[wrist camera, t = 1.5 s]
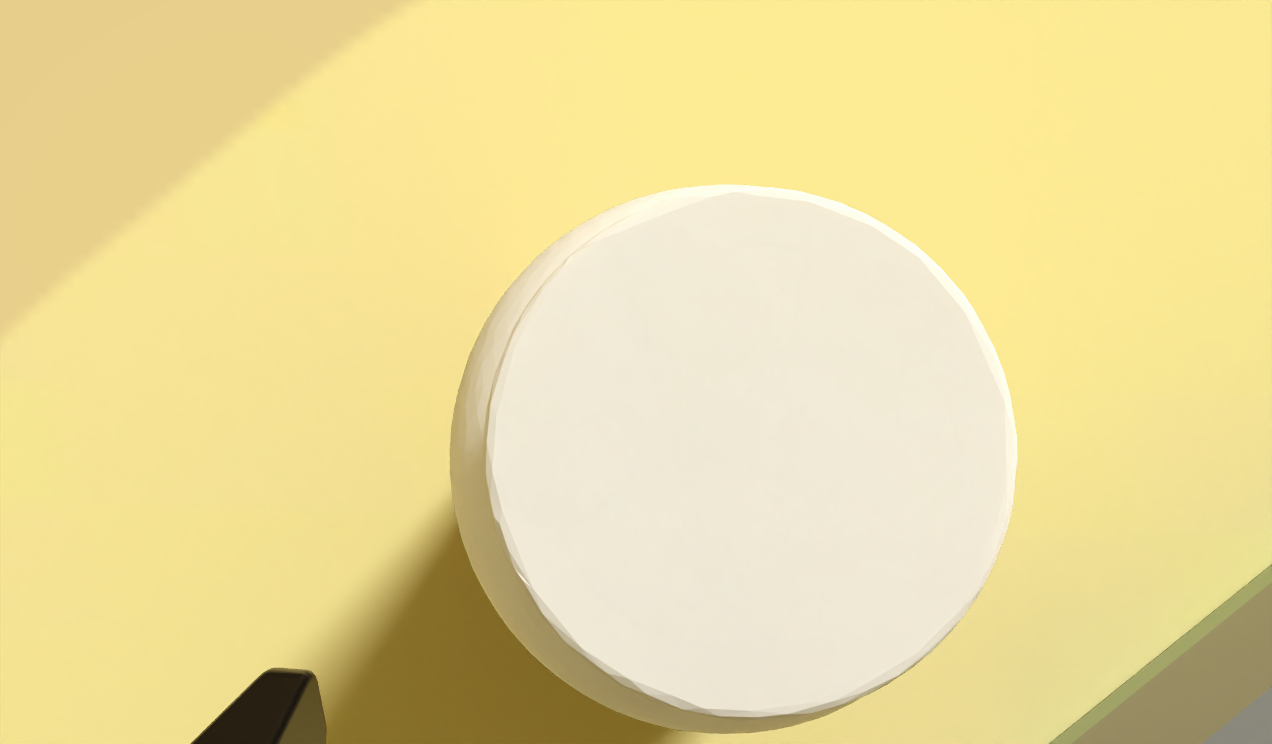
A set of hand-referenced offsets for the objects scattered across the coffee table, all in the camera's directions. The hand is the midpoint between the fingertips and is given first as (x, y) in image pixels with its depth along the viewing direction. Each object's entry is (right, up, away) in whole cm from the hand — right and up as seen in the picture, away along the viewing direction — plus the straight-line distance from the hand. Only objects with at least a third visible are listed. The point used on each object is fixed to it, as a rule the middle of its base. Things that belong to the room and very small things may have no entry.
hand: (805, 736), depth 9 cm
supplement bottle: (0, +1, +12) cm, 13 cm away
